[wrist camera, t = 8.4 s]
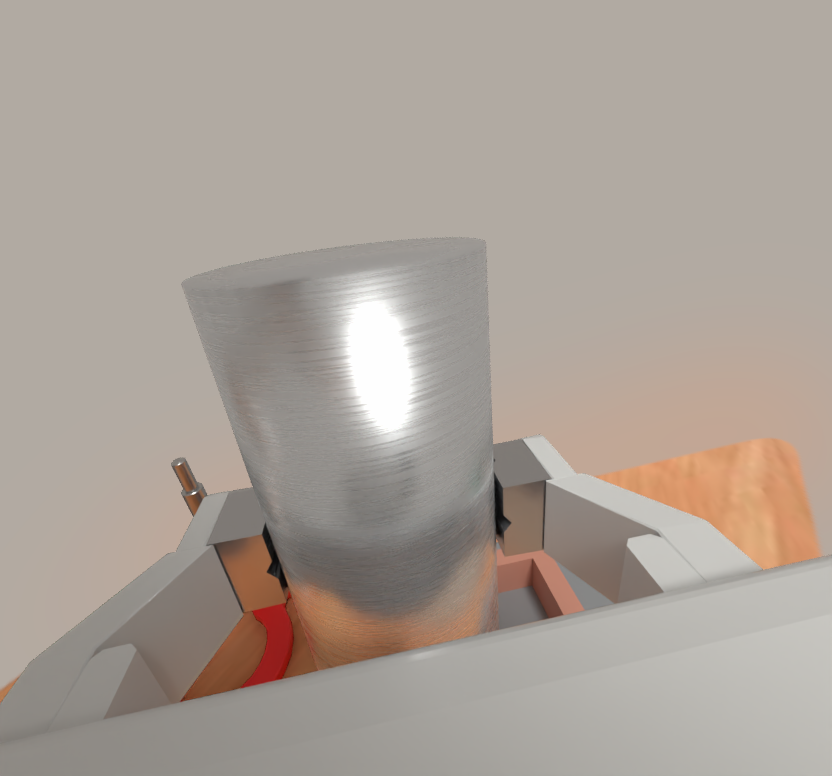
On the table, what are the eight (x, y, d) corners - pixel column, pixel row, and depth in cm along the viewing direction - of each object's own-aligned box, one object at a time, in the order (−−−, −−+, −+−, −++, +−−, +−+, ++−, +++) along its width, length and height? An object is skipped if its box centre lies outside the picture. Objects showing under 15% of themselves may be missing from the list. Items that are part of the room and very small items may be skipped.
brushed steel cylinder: (341, 836, 9) (110, 309, 4) (343, 644, 13) (231, 260, 8) (529, 786, 9) (539, 251, 4) (475, 614, 13) (448, 233, 8)
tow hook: (279, 735, 21) (307, 583, 30) (188, 581, 15) (254, 442, 24) (123, 760, 21) (194, 599, 29) (-31, 613, 15) (113, 462, 23)
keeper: (370, 873, 16) (354, 835, 15) (359, 584, 29) (349, 547, 27) (740, 763, 18) (761, 719, 16) (577, 536, 31) (580, 499, 29)
